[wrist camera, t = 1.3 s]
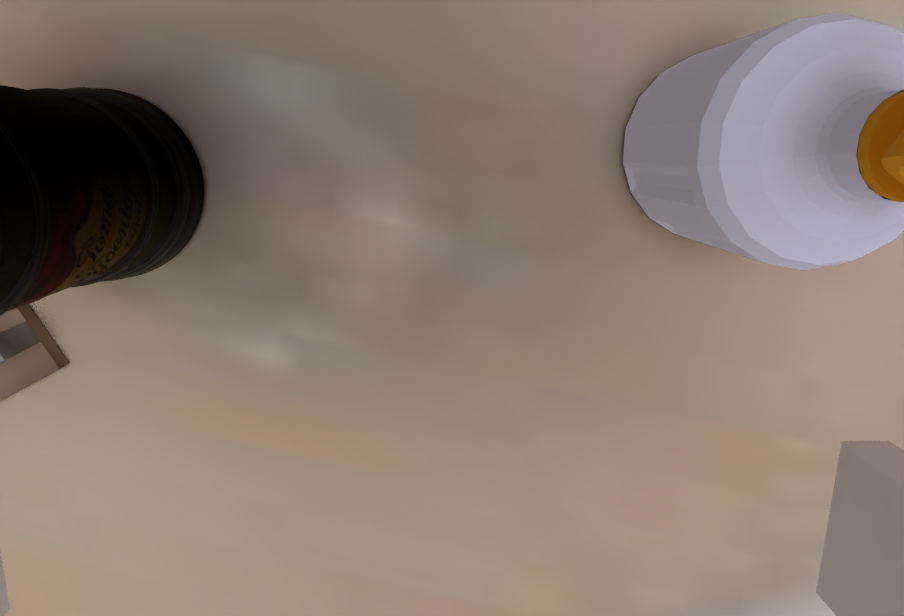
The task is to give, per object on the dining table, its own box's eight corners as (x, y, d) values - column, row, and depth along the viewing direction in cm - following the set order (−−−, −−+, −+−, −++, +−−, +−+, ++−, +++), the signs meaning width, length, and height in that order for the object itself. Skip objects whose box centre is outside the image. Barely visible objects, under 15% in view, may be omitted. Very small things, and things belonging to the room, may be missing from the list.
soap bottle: (727, 269, 35) (1366, 513, 12) (585, 178, 34) (978, 240, 10) (832, 118, 34) (1818, 39, 10) (688, 15, 33) (1435, -360, 9)
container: (13, 259, 34) (-427, 376, 16) (23, 72, 32) (-466, -26, 14) (197, 290, 34) (-32, 434, 17) (217, 109, 32) (-18, 61, 15)
